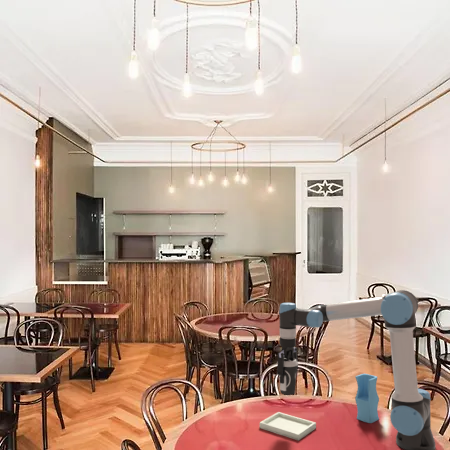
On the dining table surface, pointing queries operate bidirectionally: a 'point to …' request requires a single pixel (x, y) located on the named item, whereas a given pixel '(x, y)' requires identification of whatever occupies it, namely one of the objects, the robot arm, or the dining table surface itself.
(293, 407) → the dining table surface
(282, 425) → the tray
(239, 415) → the dining table surface
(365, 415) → the vase
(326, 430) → the dining table surface
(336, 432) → the dining table surface
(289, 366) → the coffee cup
